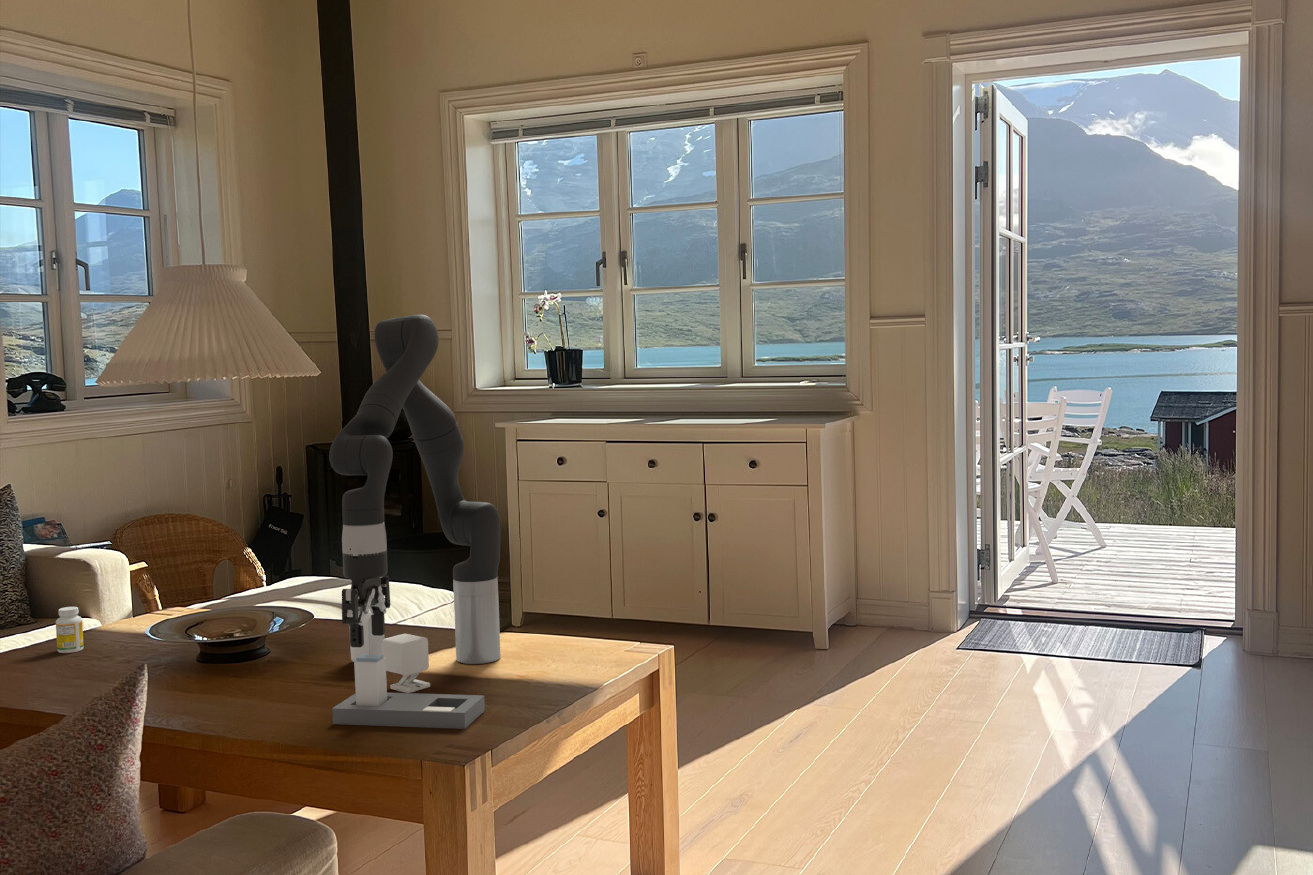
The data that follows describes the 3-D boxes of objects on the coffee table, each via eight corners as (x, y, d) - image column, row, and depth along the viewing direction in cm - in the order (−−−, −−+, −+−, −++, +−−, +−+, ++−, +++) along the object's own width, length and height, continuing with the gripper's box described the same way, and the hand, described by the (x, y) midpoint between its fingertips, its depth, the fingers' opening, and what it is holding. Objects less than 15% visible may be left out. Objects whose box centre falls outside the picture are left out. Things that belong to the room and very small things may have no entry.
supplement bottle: (67, 654, 255) (64, 611, 254) (52, 652, 257) (49, 610, 256) (89, 648, 259) (86, 606, 259) (73, 646, 262) (71, 605, 261)
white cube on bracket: (409, 683, 224) (407, 632, 224) (432, 688, 220) (430, 637, 219) (383, 690, 219) (380, 639, 219) (406, 696, 215) (404, 644, 214)
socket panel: (358, 709, 208) (357, 690, 207) (484, 713, 203) (484, 694, 203) (333, 727, 198) (332, 707, 198) (465, 732, 193) (464, 711, 193)
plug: (366, 711, 204) (364, 653, 203) (387, 712, 203) (385, 653, 203) (356, 718, 200) (354, 659, 200) (378, 719, 199) (375, 659, 199)
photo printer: (348, 661, 242) (345, 603, 241) (367, 657, 245) (364, 600, 244) (369, 671, 234) (366, 611, 233) (388, 667, 237) (386, 607, 236)
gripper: (362, 542, 208) (365, 631, 209) (325, 555, 194) (329, 650, 195) (401, 543, 206) (404, 632, 207) (366, 556, 192) (370, 651, 193)
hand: (368, 640), depth 201 cm, fingers open, 8 cm apart
